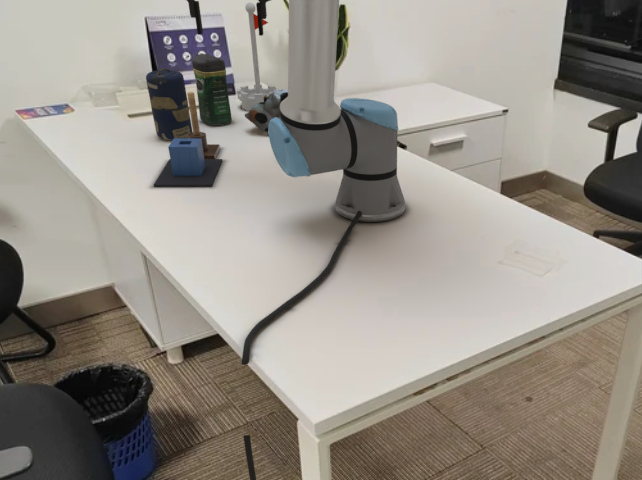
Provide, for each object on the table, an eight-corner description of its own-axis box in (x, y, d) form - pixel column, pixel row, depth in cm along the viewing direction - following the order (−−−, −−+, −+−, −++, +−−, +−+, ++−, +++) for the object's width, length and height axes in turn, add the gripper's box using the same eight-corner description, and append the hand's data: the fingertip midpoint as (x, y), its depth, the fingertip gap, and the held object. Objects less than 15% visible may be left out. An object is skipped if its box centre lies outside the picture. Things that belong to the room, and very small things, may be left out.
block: (201, 175, 164) (196, 146, 160) (173, 175, 163) (168, 146, 160) (205, 166, 170) (201, 138, 166) (178, 166, 169) (173, 138, 165)
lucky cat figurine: (269, 119, 207) (289, 77, 200) (297, 142, 204) (318, 101, 198) (235, 115, 194) (255, 71, 187) (264, 140, 191) (286, 96, 185)
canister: (200, 136, 191) (190, 68, 181) (173, 144, 184) (161, 74, 174) (177, 130, 195) (165, 63, 185) (149, 137, 188) (136, 68, 178)
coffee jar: (236, 123, 202) (228, 56, 192) (211, 128, 198) (201, 59, 188) (221, 116, 208) (213, 50, 198) (196, 120, 204) (186, 53, 194)
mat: (211, 186, 160) (211, 184, 160) (153, 187, 159) (153, 184, 158) (222, 161, 175) (222, 158, 175) (169, 161, 174) (169, 158, 173)
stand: (215, 160, 176) (206, 97, 167) (178, 159, 175) (168, 97, 166) (220, 148, 183) (212, 88, 174) (185, 148, 182) (175, 88, 173)
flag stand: (232, 110, 214) (219, 3, 197) (248, 100, 225) (237, -2, 208) (272, 113, 212) (262, 6, 196) (286, 103, 223) (278, 1, 206)
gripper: (279, -74, 150) (287, 32, 161) (160, -78, 147) (177, 30, 158) (277, -72, 143) (285, 37, 155) (153, -76, 141) (171, 36, 152)
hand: (231, 34), depth 157 cm, fingers open, 13 cm apart
